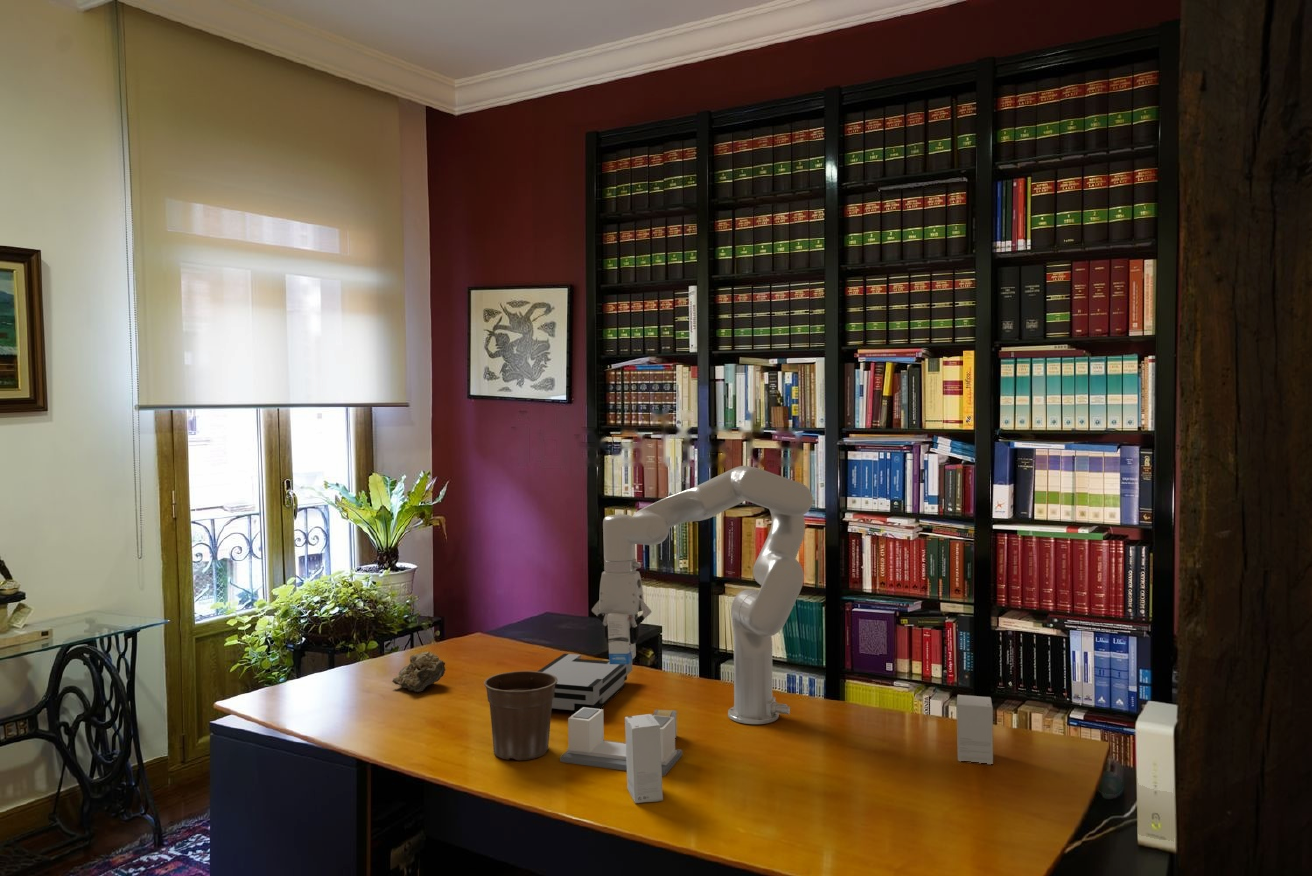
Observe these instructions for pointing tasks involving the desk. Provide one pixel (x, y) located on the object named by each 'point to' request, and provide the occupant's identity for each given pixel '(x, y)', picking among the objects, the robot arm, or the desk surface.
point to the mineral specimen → (420, 672)
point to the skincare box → (643, 758)
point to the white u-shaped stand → (611, 742)
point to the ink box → (620, 639)
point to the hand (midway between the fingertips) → (622, 641)
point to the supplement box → (975, 729)
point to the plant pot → (520, 713)
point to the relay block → (670, 714)
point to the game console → (585, 681)
